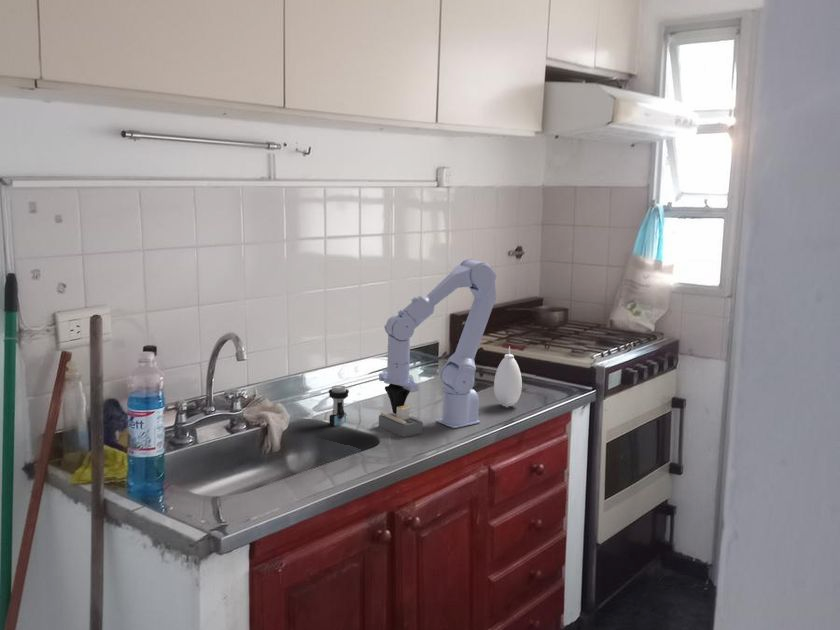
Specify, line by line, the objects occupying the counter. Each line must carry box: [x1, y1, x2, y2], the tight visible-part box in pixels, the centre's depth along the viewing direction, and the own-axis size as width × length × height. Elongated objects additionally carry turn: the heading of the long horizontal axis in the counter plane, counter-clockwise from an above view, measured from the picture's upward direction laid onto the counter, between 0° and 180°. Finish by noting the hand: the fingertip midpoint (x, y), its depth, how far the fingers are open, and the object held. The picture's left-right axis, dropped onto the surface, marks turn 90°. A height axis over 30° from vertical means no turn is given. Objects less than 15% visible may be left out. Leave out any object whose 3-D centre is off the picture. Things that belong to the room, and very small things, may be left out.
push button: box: [328, 385, 350, 427], centre depth 216 cm, size 7×5×10 cm
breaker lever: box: [396, 405, 411, 420], centre depth 211 cm, size 2×2×3 cm
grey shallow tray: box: [378, 411, 424, 438], centre depth 212 cm, size 6×11×4 cm, turn 38°
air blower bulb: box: [493, 345, 523, 407], centre depth 235 cm, size 8×8×18 cm
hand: (397, 412), depth 213 cm, fingers closed
